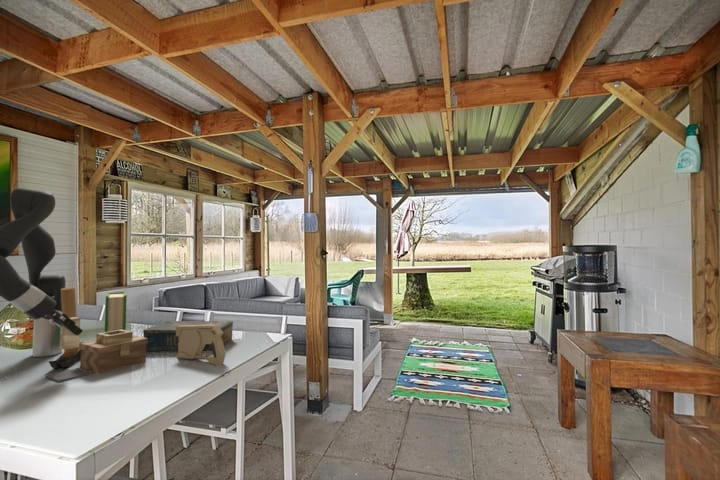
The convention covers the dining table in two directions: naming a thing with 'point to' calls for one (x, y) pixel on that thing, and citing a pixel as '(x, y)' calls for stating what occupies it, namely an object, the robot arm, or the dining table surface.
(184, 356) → the gun
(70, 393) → the dining table surface
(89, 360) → the stacked wooden tiers
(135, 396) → the dining table surface
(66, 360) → the hammer
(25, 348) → the dining table surface
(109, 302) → the hardback book
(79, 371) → the rubber mat
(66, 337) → the wooden block
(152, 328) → the metal box
